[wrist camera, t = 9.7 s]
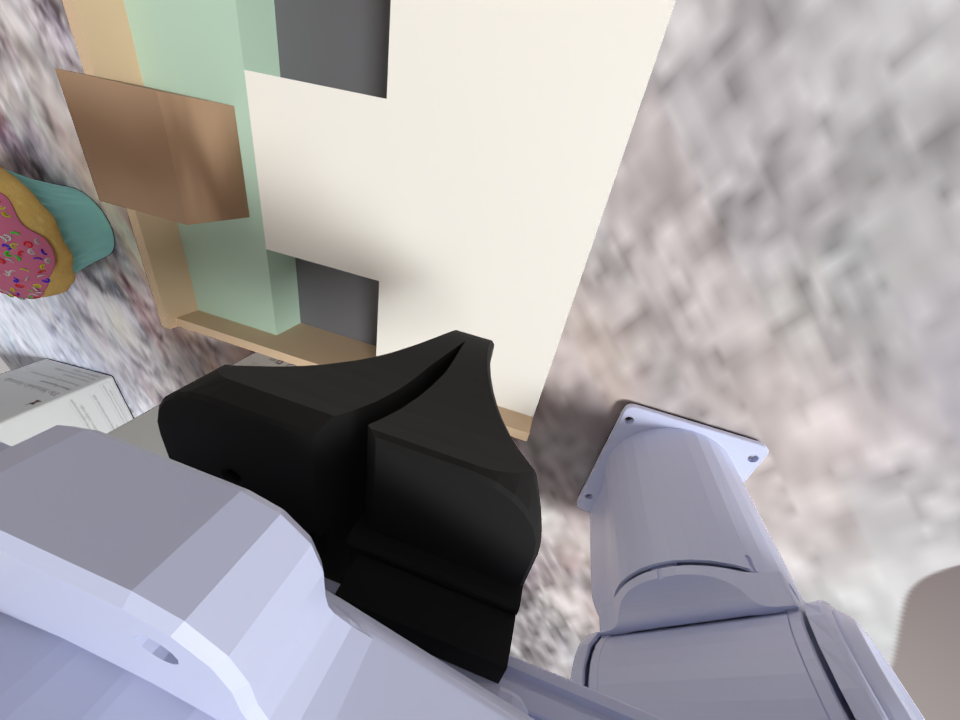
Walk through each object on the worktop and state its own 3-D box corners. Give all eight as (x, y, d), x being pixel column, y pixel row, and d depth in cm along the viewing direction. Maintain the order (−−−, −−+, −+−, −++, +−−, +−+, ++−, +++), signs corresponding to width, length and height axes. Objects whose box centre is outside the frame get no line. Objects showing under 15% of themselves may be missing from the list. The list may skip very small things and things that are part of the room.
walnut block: (249, 217, 19) (186, 225, 16) (173, 196, 20) (99, 200, 17) (234, 106, 16) (156, 90, 14) (147, 86, 17) (54, 68, 14)
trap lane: (535, 401, 23) (525, 447, 19) (225, 304, 26) (162, 326, 22) (686, -45, 12) (731, -144, 9) (143, -115, 16) (-2, -209, 12)
